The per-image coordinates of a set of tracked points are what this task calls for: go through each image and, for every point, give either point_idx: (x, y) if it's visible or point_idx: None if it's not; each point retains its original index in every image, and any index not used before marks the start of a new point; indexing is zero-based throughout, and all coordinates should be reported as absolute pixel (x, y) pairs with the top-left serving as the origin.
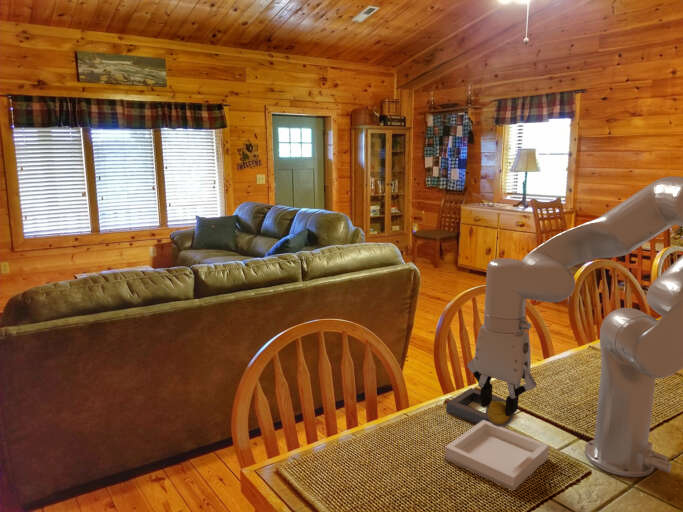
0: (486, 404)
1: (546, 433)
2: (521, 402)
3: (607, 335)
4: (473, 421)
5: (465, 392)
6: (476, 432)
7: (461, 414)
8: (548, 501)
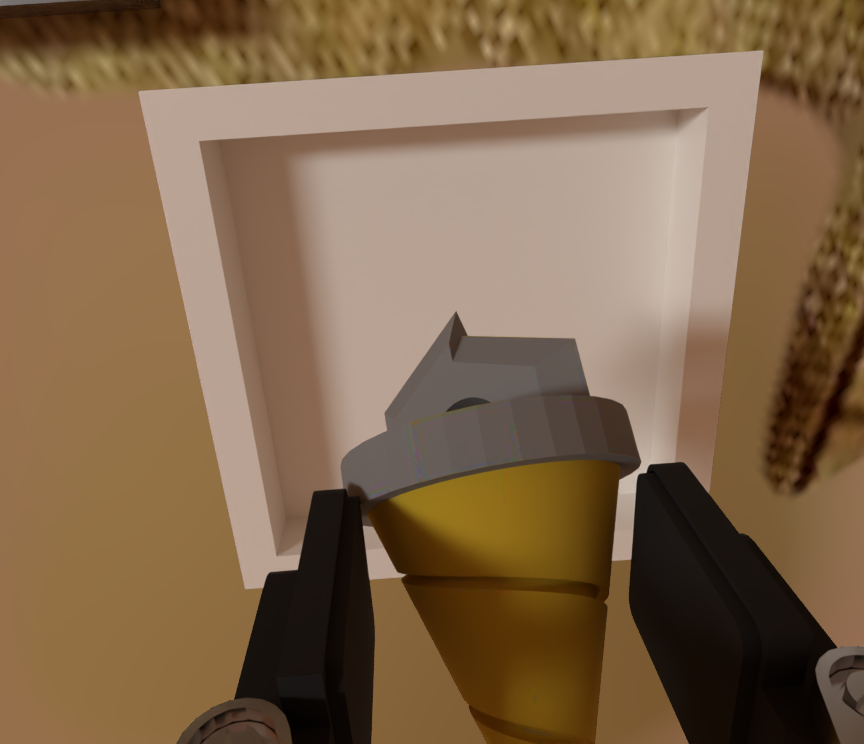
0: (369, 598)
1: None
2: None
3: None
4: (17, 15)
5: None
6: (230, 277)
7: None
8: (833, 441)
